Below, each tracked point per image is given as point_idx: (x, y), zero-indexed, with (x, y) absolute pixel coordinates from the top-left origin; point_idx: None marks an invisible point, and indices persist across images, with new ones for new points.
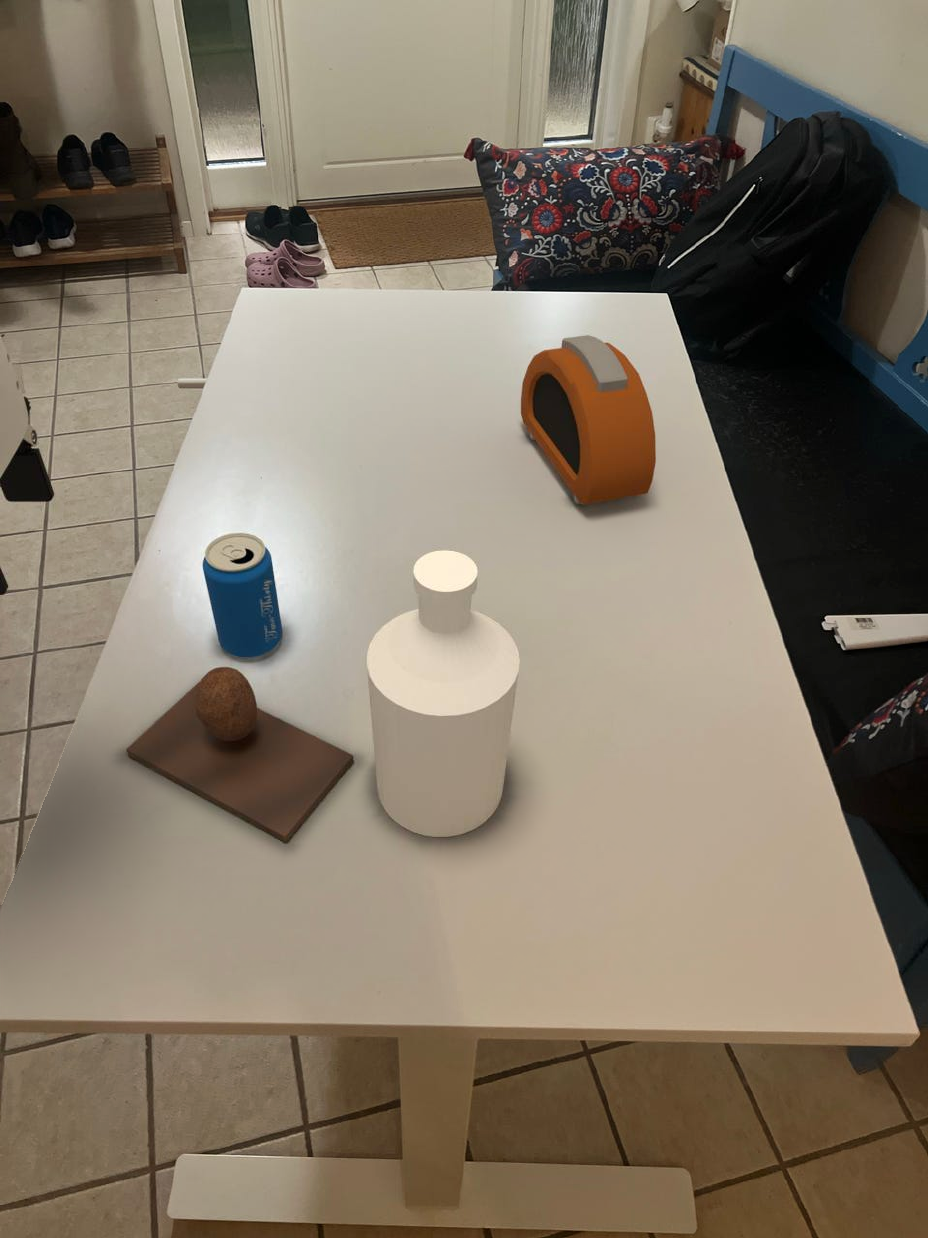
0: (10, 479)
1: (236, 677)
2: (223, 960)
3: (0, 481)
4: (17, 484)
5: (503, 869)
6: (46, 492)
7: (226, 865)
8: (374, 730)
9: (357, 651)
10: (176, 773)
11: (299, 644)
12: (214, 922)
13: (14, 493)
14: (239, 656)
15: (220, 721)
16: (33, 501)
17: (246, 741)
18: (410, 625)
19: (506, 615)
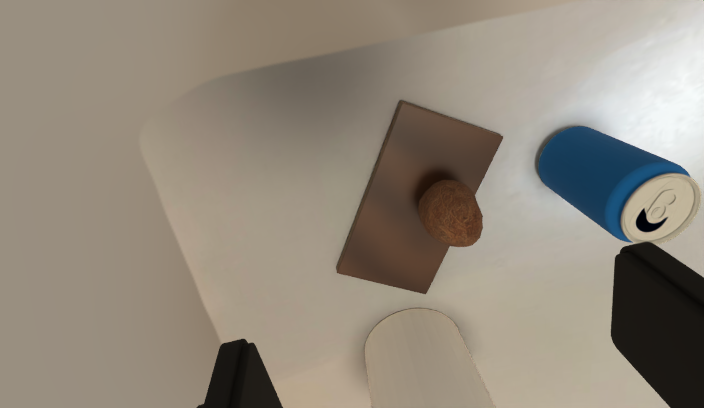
0: (672, 330)
1: (465, 245)
2: (229, 260)
3: (670, 297)
4: (656, 329)
5: (348, 393)
6: (631, 361)
7: (305, 233)
8: (406, 386)
9: (552, 255)
10: (382, 164)
11: (561, 203)
12: (256, 243)
13: (633, 292)
14: (539, 161)
15: (423, 222)
16: (612, 310)
17: None
18: None
19: (596, 351)
